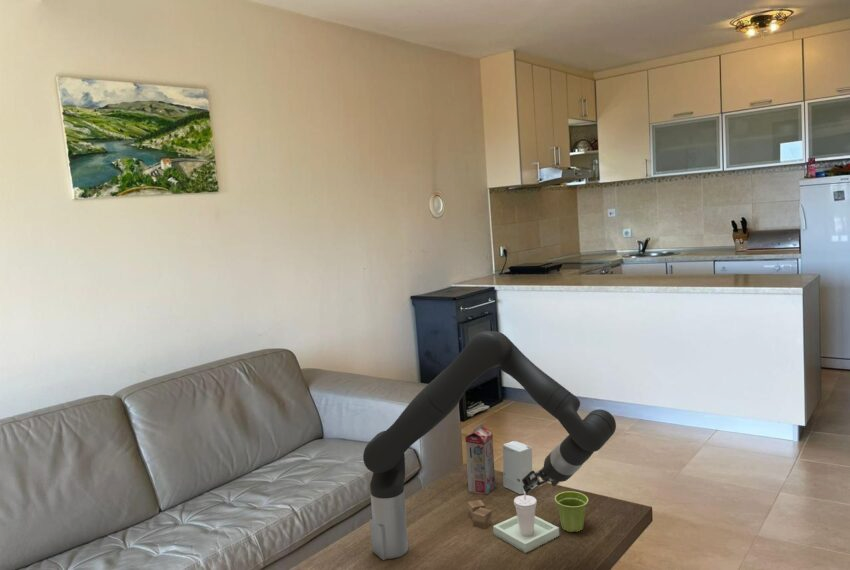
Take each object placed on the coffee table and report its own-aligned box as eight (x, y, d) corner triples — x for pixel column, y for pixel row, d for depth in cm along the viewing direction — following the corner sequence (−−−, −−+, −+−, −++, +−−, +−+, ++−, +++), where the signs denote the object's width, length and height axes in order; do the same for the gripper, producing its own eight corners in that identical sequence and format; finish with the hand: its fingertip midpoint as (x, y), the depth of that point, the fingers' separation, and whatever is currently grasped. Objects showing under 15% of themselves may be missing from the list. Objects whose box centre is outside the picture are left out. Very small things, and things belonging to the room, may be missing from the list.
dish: (525, 553, 169) (525, 544, 169) (493, 534, 180) (493, 526, 180) (559, 536, 177) (558, 527, 176) (526, 519, 187) (526, 511, 187)
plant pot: (595, 525, 181) (594, 496, 180) (578, 539, 174) (577, 509, 173) (566, 516, 188) (565, 488, 187) (549, 529, 181) (548, 500, 180)
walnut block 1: (473, 520, 189) (472, 507, 188) (468, 514, 193) (467, 502, 192) (485, 517, 190) (484, 505, 189) (481, 512, 194) (480, 499, 193)
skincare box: (503, 487, 209) (500, 444, 208) (516, 481, 213) (513, 439, 211) (521, 495, 203) (519, 451, 201) (534, 489, 206) (532, 445, 204)
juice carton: (495, 486, 210) (491, 422, 208) (486, 494, 205) (483, 429, 202) (477, 483, 214) (473, 420, 211) (468, 491, 208) (464, 427, 205)
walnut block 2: (484, 529, 183) (483, 516, 183) (473, 525, 186) (472, 512, 185) (492, 523, 186) (491, 510, 186) (480, 519, 189) (480, 507, 188)
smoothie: (537, 526, 181) (535, 480, 179) (539, 538, 175) (536, 490, 173) (514, 527, 182) (512, 480, 180) (516, 538, 175) (513, 491, 174)
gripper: (580, 441, 163) (554, 467, 175) (534, 452, 157) (510, 478, 169) (594, 468, 159) (566, 493, 171) (547, 480, 153) (522, 505, 165)
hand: (539, 486), depth 170 cm, fingers open, 8 cm apart
